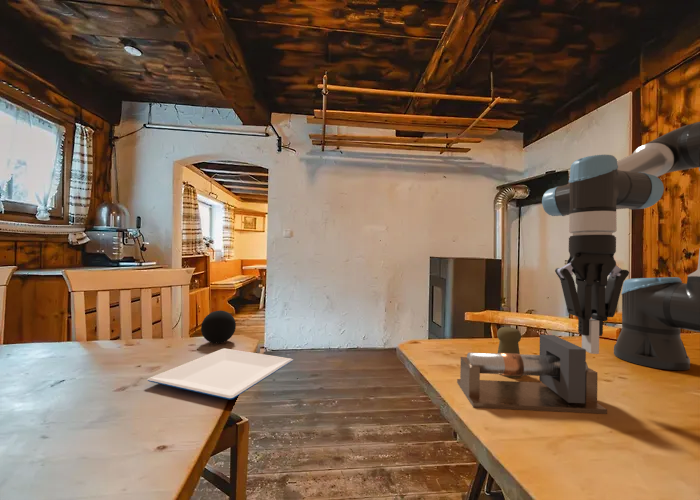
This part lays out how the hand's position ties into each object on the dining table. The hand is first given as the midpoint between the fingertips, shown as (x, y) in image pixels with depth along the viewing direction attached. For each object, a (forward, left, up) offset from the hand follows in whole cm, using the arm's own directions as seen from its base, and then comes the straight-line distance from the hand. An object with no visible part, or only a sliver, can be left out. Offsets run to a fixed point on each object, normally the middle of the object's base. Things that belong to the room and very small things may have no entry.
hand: (590, 351), depth 62 cm
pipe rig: (+13, 0, -10) cm, 16 cm away
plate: (+77, -4, -10) cm, 78 cm away
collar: (+6, 0, -8) cm, 10 cm away
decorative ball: (+92, -28, -10) cm, 96 cm away
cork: (+10, -13, -10) cm, 19 cm away
